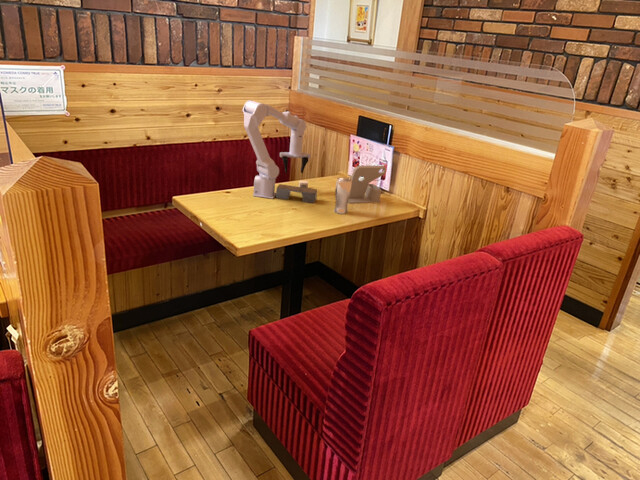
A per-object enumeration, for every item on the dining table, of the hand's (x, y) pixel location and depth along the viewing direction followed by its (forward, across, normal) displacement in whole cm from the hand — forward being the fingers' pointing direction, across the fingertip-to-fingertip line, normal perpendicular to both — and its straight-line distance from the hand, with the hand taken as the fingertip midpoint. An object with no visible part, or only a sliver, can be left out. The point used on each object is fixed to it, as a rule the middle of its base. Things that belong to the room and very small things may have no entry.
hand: (293, 172), depth 238 cm
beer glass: (+10, +18, -28) cm, 34 cm away
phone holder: (+10, +32, -10) cm, 35 cm away
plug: (+10, +6, -1) cm, 11 cm away
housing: (+9, 0, -12) cm, 15 cm away
